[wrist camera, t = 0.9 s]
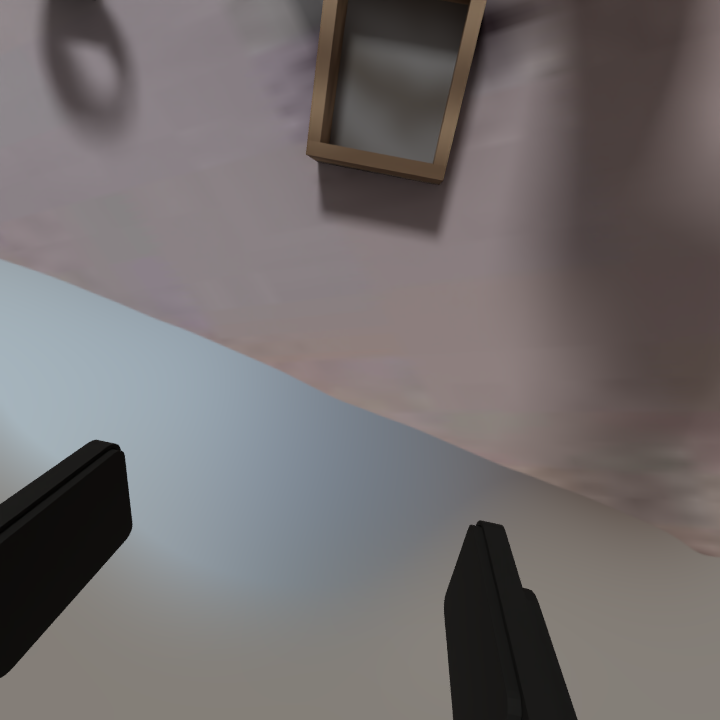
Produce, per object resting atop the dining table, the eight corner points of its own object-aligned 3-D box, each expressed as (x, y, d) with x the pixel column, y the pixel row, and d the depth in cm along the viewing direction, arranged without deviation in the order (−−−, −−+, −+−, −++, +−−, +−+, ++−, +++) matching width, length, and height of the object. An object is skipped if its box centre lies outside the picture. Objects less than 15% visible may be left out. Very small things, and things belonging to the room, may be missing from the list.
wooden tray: (341, -28, 28) (330, -66, 24) (484, -5, 28) (496, -40, 24) (317, 161, 33) (306, 154, 29) (439, 185, 32) (443, 180, 29)
